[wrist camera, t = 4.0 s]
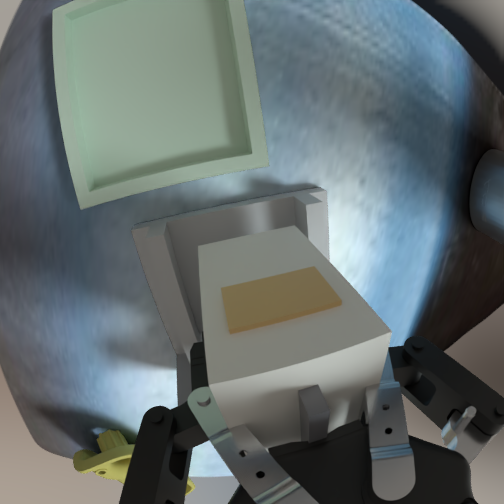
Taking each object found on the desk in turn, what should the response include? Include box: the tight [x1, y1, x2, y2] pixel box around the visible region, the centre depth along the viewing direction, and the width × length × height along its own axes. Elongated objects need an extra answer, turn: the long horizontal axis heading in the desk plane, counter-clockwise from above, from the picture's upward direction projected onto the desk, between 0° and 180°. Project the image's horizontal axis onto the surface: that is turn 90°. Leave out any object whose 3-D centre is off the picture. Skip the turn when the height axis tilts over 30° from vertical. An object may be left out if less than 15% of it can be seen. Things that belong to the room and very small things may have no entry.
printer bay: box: [131, 187, 329, 406], centre depth 17 cm, size 12×13×7 cm
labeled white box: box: [198, 225, 392, 453], centre depth 12 cm, size 5×8×10 cm, turn 9°
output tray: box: [52, 0, 269, 210], centre depth 12 cm, size 11×13×2 cm
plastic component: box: [73, 429, 195, 496], centre depth 26 cm, size 20×7×10 cm
